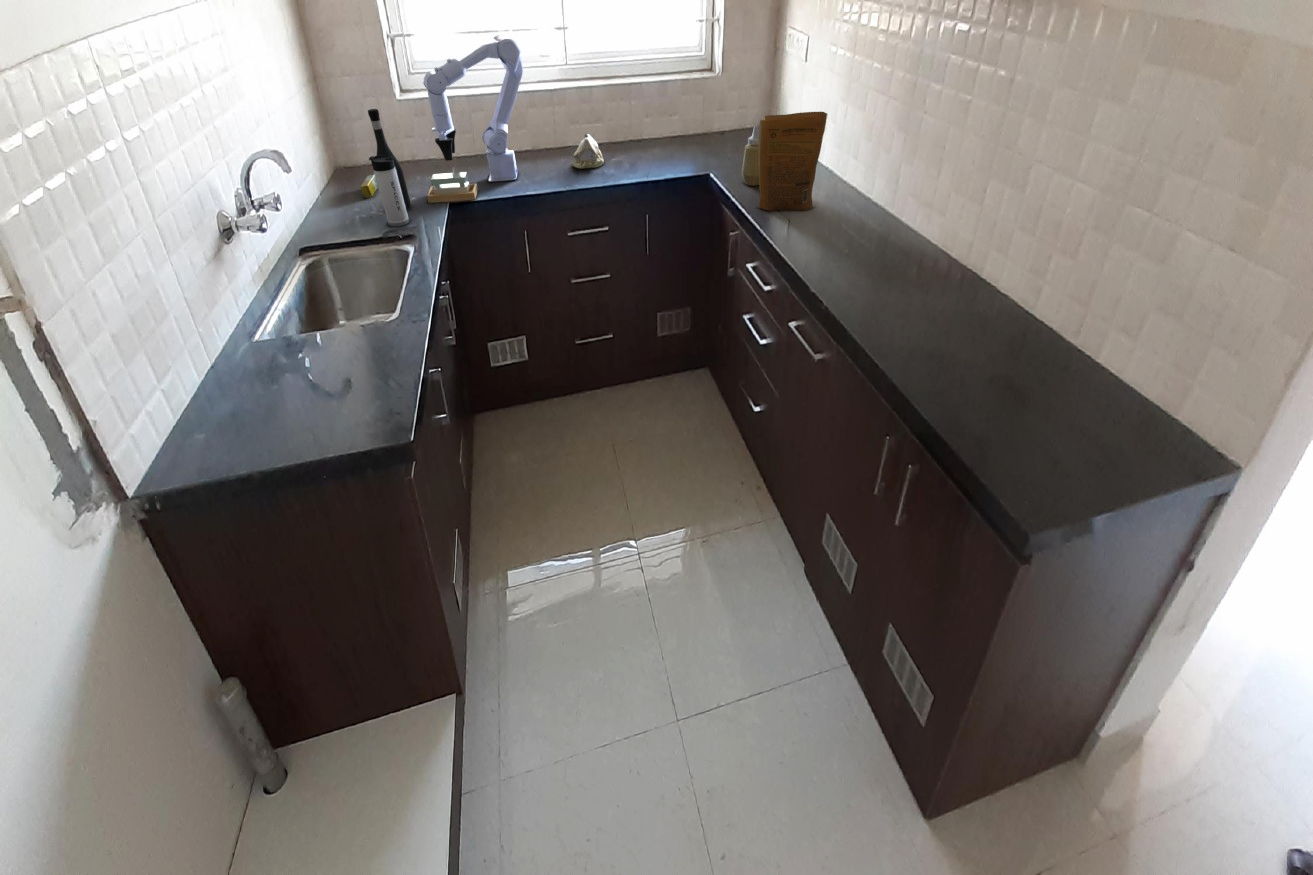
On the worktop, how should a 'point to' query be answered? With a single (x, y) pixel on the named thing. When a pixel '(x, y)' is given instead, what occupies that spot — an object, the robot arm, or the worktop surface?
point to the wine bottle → (388, 153)
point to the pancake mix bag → (789, 159)
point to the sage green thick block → (449, 179)
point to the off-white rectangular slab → (451, 189)
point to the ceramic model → (588, 154)
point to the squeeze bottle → (751, 159)
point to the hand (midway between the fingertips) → (450, 156)
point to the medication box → (369, 186)
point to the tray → (453, 195)
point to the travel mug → (390, 190)
